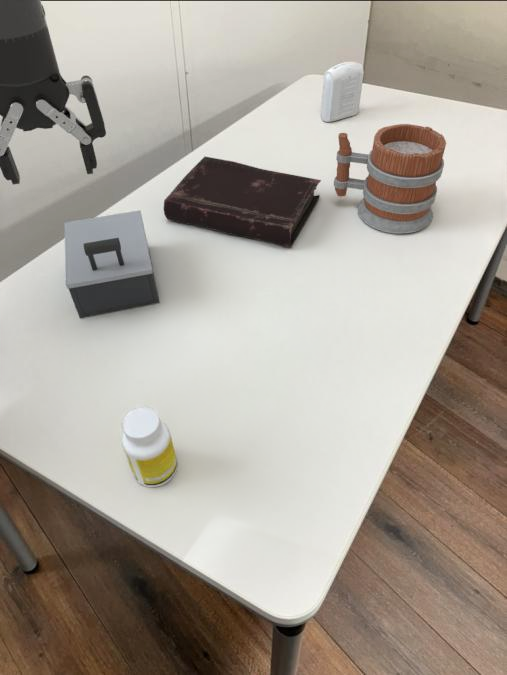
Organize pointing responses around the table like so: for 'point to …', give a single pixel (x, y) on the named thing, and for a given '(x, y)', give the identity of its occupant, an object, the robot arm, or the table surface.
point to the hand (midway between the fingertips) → (54, 176)
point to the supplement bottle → (148, 447)
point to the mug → (395, 177)
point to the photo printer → (341, 91)
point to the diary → (243, 201)
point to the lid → (105, 249)
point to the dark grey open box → (115, 295)
